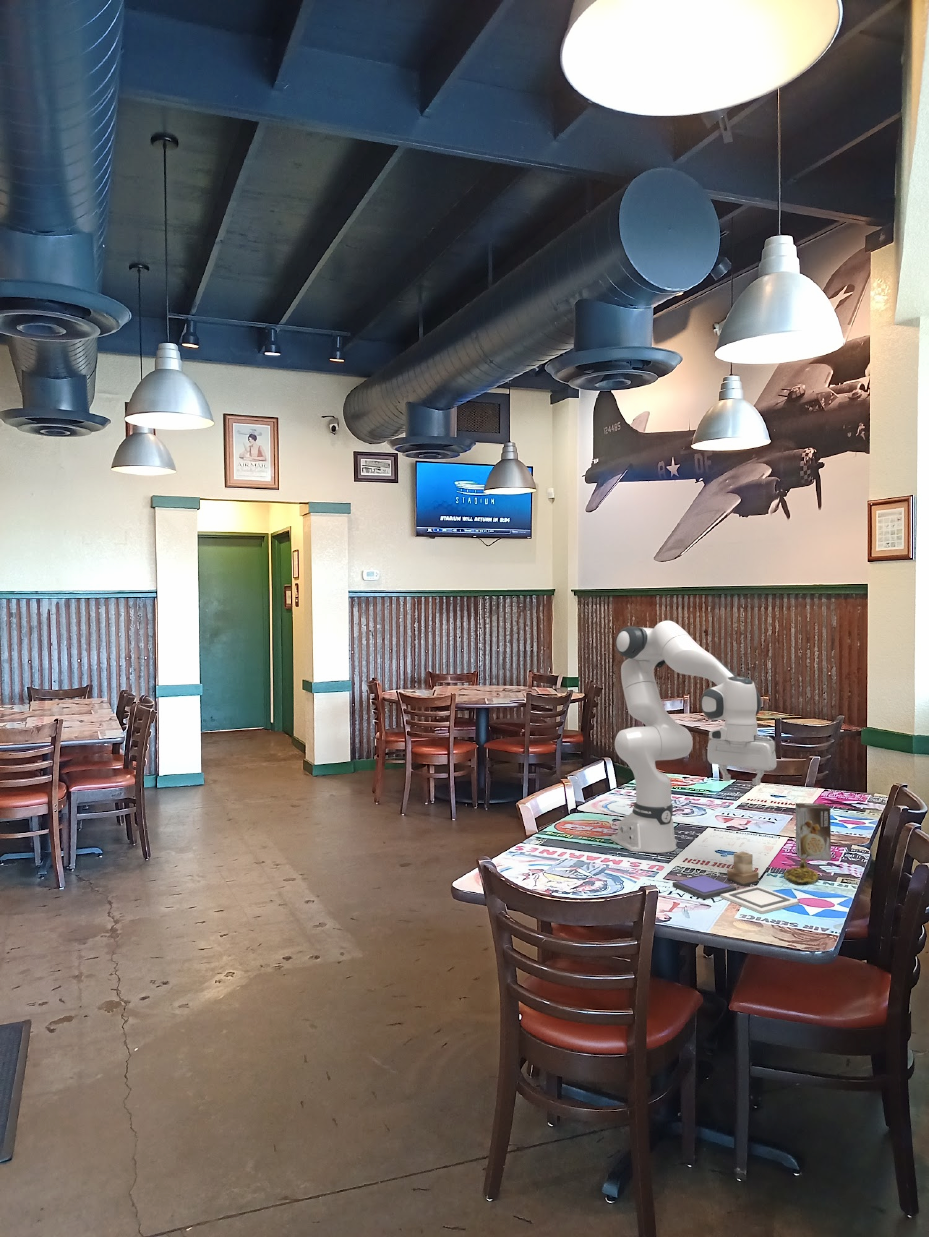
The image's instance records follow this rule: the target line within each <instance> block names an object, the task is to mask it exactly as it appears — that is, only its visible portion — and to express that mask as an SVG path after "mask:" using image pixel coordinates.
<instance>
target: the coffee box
mask: <svg viewBox="0 0 929 1237" xmlns="http://www.w3.org/2000/svg"><path fill="white" fill-rule="evenodd" d="M831 830H832V828H831V808H830V806H828V805H826V804H825V803H813V802H812V803H807V802H805V803H803V802H795V854H796V853H797V854H796V855H797V857H798V856H799V857H800V858H805V859H806V860H812V859H813V860H816V861H817V860H818V861H819V860H820V861H823V860H824V861H832V855H831V854H832V845H831V844H832V843H831V841H832V839H831V838H832V837H831V836H832V835H831V834H832V833H831V832H832V831H831ZM799 857H798V858H799ZM800 858H799V859H800Z"/></svg>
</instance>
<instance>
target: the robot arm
mask: <svg viewBox="0 0 929 1237" xmlns="http://www.w3.org/2000/svg"><path fill="white" fill-rule="evenodd" d="M615 649H616V651H617V653H618V654H619V655H620V656H622V657H624V658H626V660H625V661H623V662H622V664H621V667H620V668H621V669H620V674H621V675H620V676H621V677H620V678H621V684H622V691H623V695H624V700H625V703H626V708H627V712H628V713H629V715H630V716H631V717H632V719H633V718H634V719H635V720H637V721H640V723H642V724H644V726H632V727H629V728H625V729H622V730H619V732H618V733H617V734H616V737H615V740H614V748H615V752H616V755H618V757H619V758H620V759H621V760H622V761H623V762H625V763H626V764H627V765H628V766H629V768H630V769H631V771H632V774H633V777H634V780H635V800H636V801H634V802H630V807H632V810H631V811H632V812H630V813H629V814H628V815H627V816H625V817H624V818H622V819H621V820H620V821H619V823H618V825H617V833H614V834H612V835H611V836H610V841H612V842H614V843H616V844H618V845H620V846H621V847H623V848H625V849H627V850H628V851H631V852H637V853H638V852H640V853H641V852H643V853H644V852H645V853H651V854H653V853H654V854H655V853H657V854H658V853H659V854H661V853H670V852H673V851H676V850H677V843H678V842H677V839H676V836H675V826H674V819H673V815H674V812H673V811H674V808H673V807H674V805H673V803H672V780H671V779H670V777H669V776H668V775H667V774H665V773H664V772H662V771H661V770H658V769H657V766H656V761H670V760H677V759H681V758H684V757H687V756H688V755H690V753H691V752H692V748H693V744H694V743H693V737H692V734H691V732H690V731H689V730H688V728H686V727H685V726H683V725H681V724H679V723H678V722H677V721H675V720H674V718H673V717H672V716H670V714H669V713H668V712H667V710H666V708H665V706H664V704H663V702H662V699H661V695H660V691H659V689H658V685H657V681H656V678H655V674H654V671H655V668H659V669H660V668H661V669H662V668H663V667H664V666H665V665H667V666H668V667H670V669H672V670H673V671H675V672H676V673H678V674H680V675H681V674H682V675H687V676H688V675H689V676H694V677H700V678H703V679H707V680H709V681H711V682H713V683H714V684H715V685H716V686H713V687H710V688H707V689H705V691H704V692H702V695H701V697H700V708H701V711H702V713H703V714H704V716H705V717H706V718H708V719H709V720H715V721H720V720H721V721H722V720H724V727H721V728H718V729H715V730H710V731H709V733H708V737H709V741H708V743H707V761H708V763H709V764H711V765H718V769H719V772H720V773H721V775H722V782H723V781H725V782H730V781H731V777H732V776H731V774H729V773H728V770H727V769H728V766H729V767H737V768H743V769H750V770H751V769H753V770H755V773H756V774H757V775H756V776H755V778H751V779H752V786H761V784H762V783H761V779H762V777H763V776H764V774H765V771H767V772H768V771H774V770H775V769H776V768H777V756H776V755H777V754H776V741H775V740H773V738H771V737H770V736H762V735H758V720H757V715H758V714H759V713H760V712H761V709H762V705H763V704H762V697H761V695H760V692H758V690H757V688H756V685H755V682H754V680H752V679H751V678H748V677H747V676H746V677H745V676H738V675H737V674H735V672H733V671H732V670H731V669H730V668H729V667H728V666H727V665H726V664H725V663H723V662H722V661H721V660H720V659H719V658H717V657H716V656H715V655H713V654H711V653H710V652H708V651H706V650H705V649H704V648H703V647H702V646H700V645H699V644H698V643H697V642H696V641H695V640H694V639H693V638H692V636H691V635H690V634H689V633H688V632H687V631H686V630H685V629H683V627H681V626H680V625H679V624H677V623H676V622H674V621H672V620H663V621H661V622H658V623H657V624H656V625H655V626H654V627H653V628H652V627H638V626H634V625H633V626H627V627H623V628H621V629H620V630H619V631H618V633H617V635H616V637H615Z"/></svg>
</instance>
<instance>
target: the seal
mask: <svg viewBox="0 0 929 1237" xmlns="http://www.w3.org/2000/svg"><path fill="white" fill-rule="evenodd" d="M783 878H784V879H785V881H788V882H789V883H791V884H793V885H798V886H799V885H802V886H803V885H807V886H810V885H813V884H816V882H817V883H818V881H819V879H820V877H819V874H818V873H817V871H814V870H813V869H810V868H809V867H808V865H807V859H805V858H801V859H800V864H799V866H797V867H792V868H788V869H786V870H785V871H784V873H783Z"/></svg>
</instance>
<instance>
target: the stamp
mask: <svg viewBox="0 0 929 1237" xmlns="http://www.w3.org/2000/svg"><path fill="white" fill-rule="evenodd" d="M726 873H727V874H726V880H728V882H730V881H732V882H731V883H733V882H734V883H733V884H735V883H736V885H738V884H739V886H740V887H743V886H744V887H749V886H752V885H756V884H759V883H760V881H759V880H760V879H759V877H760V876H759V874H760V873H759V871H758V872H757V871H755V870H753V854H751V853H749V852H745V851H743V850H742V851H737V852H734V853H733V868H731V869H728V870H726ZM751 884H752V885H751Z"/></svg>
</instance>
